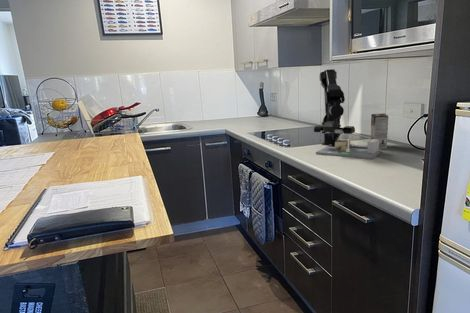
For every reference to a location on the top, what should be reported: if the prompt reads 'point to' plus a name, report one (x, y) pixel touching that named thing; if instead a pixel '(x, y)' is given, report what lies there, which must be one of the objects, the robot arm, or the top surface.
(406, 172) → the top surface
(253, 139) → the top surface
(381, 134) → the coffee box
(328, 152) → the gauge base
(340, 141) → the carriage
